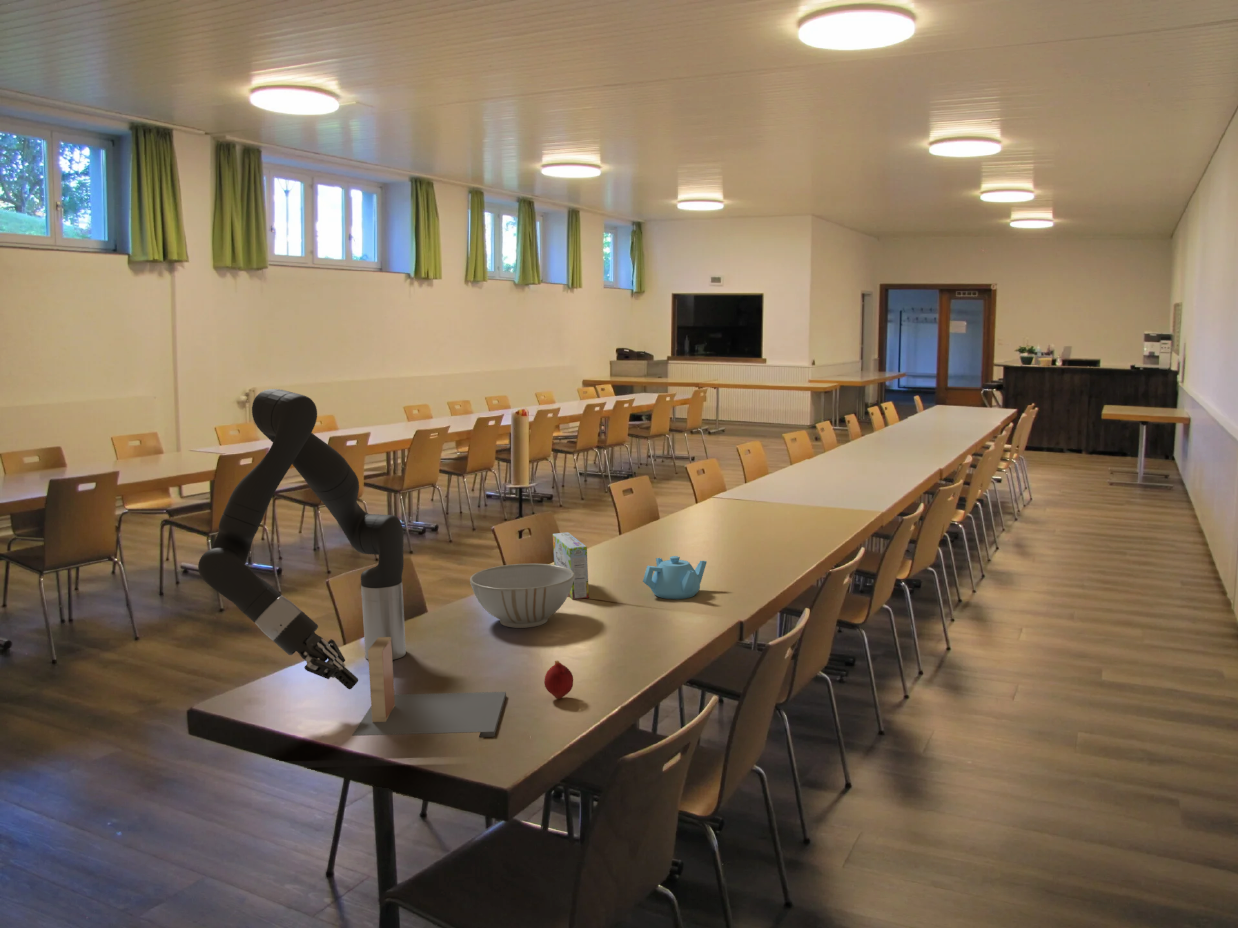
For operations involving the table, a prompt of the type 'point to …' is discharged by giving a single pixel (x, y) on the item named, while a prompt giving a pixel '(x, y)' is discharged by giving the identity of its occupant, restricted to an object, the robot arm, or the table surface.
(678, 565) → the teapot
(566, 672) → the onion
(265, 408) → the robot arm
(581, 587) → the snack box
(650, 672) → the table surface
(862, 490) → the table surface
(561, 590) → the decorative bowl
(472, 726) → the mat
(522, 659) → the table surface
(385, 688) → the wooden block
